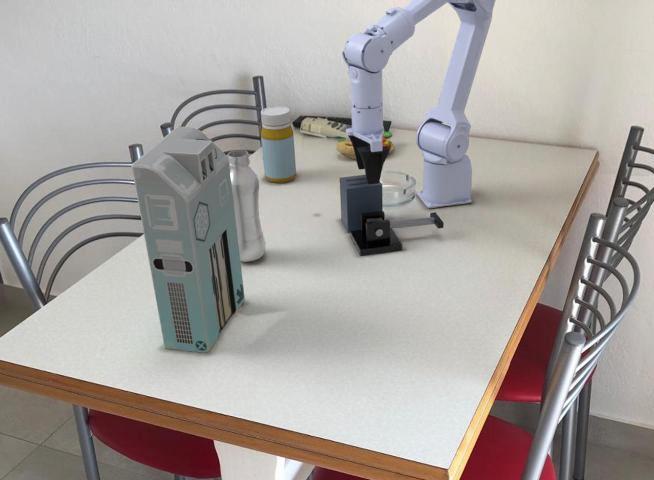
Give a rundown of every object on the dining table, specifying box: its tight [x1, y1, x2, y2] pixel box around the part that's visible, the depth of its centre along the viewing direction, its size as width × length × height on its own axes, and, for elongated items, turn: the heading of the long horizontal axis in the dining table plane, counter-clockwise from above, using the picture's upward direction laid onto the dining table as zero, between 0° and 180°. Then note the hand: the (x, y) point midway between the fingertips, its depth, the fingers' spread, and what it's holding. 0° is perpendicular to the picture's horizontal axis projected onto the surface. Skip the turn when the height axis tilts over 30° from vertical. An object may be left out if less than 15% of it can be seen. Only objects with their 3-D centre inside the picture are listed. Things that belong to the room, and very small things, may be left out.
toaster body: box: [339, 174, 384, 234], centre depth 168 cm, size 7×6×9 cm
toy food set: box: [335, 131, 395, 160], centre depth 203 cm, size 13×13×3 cm
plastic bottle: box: [227, 149, 266, 263], centre depth 155 cm, size 6×7×20 cm
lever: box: [367, 211, 445, 229], centre depth 163 cm, size 14×5×2 cm, turn 102°
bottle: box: [260, 105, 297, 184], centre depth 188 cm, size 7×7×15 cm
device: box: [130, 125, 246, 354], centre depth 133 cm, size 16×8×30 cm, turn 165°
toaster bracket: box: [349, 210, 403, 257], centre depth 162 cm, size 8×8×5 cm
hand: (368, 175), depth 165 cm, fingers open, 7 cm apart
